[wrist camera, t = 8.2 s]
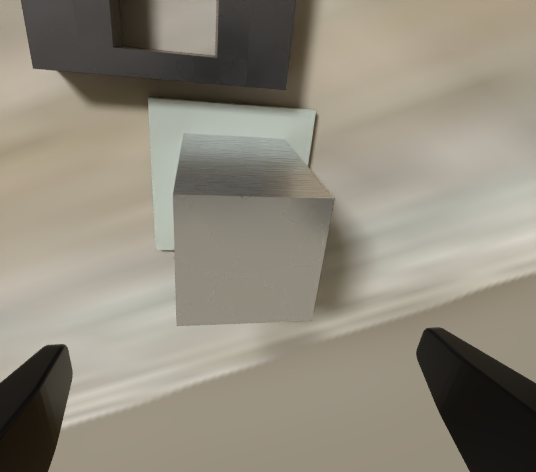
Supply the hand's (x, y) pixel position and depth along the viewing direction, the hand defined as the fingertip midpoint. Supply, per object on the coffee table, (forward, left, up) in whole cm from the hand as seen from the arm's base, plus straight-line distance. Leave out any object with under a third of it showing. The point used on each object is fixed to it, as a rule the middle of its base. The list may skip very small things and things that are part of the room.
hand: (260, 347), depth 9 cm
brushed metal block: (0, 0, -12) cm, 12 cm away
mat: (0, 0, -12) cm, 12 cm away
